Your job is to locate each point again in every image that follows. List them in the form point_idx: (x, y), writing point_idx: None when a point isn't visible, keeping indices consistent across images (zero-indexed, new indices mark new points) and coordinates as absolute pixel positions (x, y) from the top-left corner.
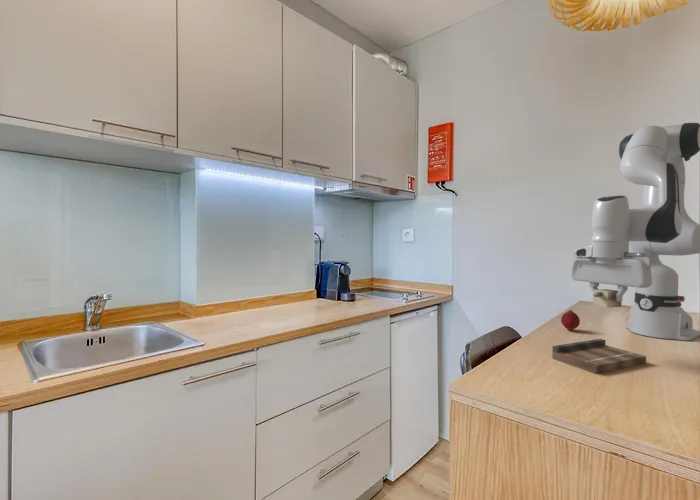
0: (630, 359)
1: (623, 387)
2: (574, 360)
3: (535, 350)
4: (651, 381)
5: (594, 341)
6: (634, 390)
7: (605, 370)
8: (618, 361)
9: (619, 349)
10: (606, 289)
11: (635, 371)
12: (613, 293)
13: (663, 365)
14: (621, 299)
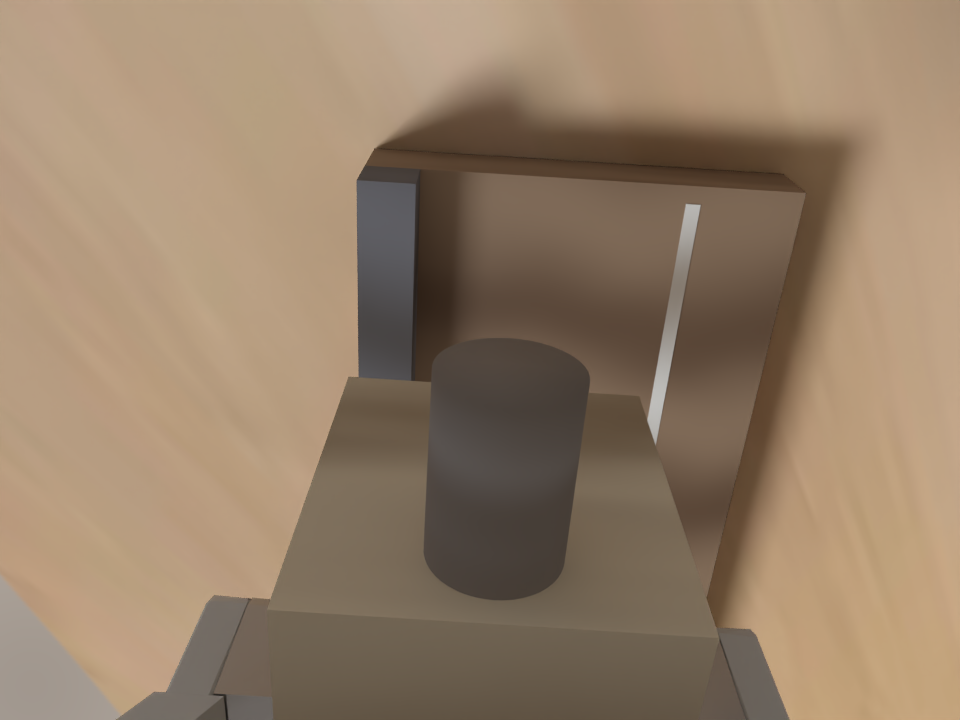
0: (753, 402)
1: (839, 709)
2: None
3: (198, 605)
4: (916, 523)
5: (404, 342)
6: (888, 702)
7: None
8: (723, 526)
9: (573, 200)
10: (306, 684)
11: (795, 435)
12: None
13: (894, 82)
14: (754, 669)
